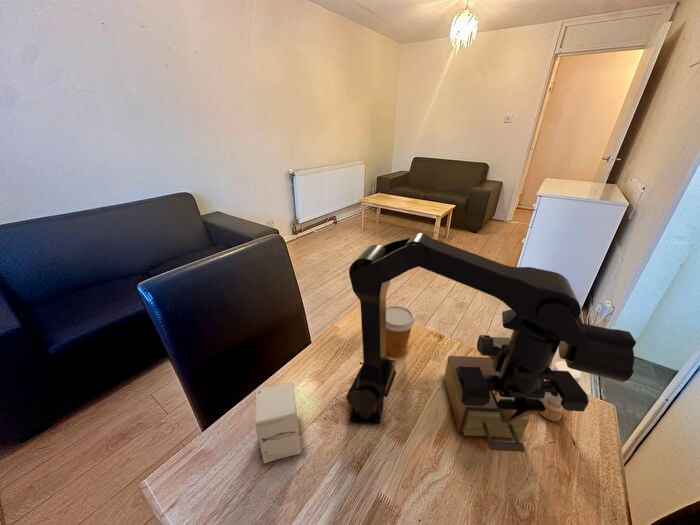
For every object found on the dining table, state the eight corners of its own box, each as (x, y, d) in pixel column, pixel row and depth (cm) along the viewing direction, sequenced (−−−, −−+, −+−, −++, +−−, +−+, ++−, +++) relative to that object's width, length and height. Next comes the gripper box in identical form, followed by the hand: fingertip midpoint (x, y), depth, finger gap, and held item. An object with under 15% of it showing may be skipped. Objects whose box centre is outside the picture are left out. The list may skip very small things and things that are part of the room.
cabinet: (520, 435, 59) (531, 410, 55) (458, 432, 60) (465, 406, 56) (494, 381, 71) (502, 357, 68) (443, 379, 72) (448, 355, 68)
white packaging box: (263, 465, 54) (252, 423, 48) (263, 428, 61) (254, 388, 55) (302, 454, 56) (296, 413, 50) (298, 420, 62) (292, 379, 57)
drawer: (533, 464, 53) (544, 444, 50) (471, 461, 54) (478, 440, 51) (496, 386, 69) (502, 368, 66) (448, 384, 69) (453, 365, 67)
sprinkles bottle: (564, 414, 63) (586, 371, 57) (554, 425, 61) (576, 381, 55) (542, 399, 67) (561, 357, 61) (532, 409, 64) (550, 366, 58)
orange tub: (415, 344, 83) (420, 311, 78) (403, 366, 76) (407, 330, 70) (386, 333, 88) (388, 300, 82) (371, 352, 80) (373, 318, 75)
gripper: (561, 321, 49) (535, 384, 56) (451, 317, 50) (439, 379, 57) (609, 372, 39) (570, 441, 46) (472, 366, 40) (454, 434, 47)
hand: (503, 420), depth 50 cm, fingers closed
